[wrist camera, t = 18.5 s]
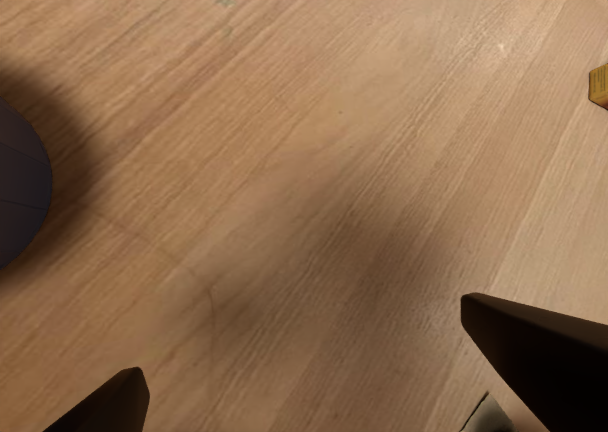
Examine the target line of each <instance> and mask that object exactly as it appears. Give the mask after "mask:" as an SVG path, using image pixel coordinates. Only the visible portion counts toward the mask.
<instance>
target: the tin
mask: <svg viewBox="0 0 608 432" xmlns="http://www.w3.org/2000/svg"><path fill="white" fill-rule="evenodd" d="M51 193H52V173H51V166H50V161H49V158H48V155H47V152H46V149H45V147H44V145H43V144H42V142H41V140H40V138H39V136H38V135H37V133H36V132H35V130H34V128H33V127H32V125H30V124H29V123H28V122H27V120H26V119H25V118H24V117H23V116H22V115H21V114H20V113H19V112H18V111H16V110H15V109H14V108H13V107H12V106H10V105H9V104H8V103H7V102H6V101H5V100H4V99H3V98H2V97H1V96H0V270H1V269H2V268H4V267H5V266H6V265H8V264H9V263H10V262H11V261H12V260H13V259H15V258H16V257H17V256H18V255H19V254H20V253H21V252H22V251H23V250H24V249H25V248H26V246H27V245H28V244H29V243H30V242H31V240H32V239H33V237H34V236H35V235H36V233H37V232H38V230H39V228H40V226H41V224H42V222H43V221H44V219H45V216H46V213H47V210H48V207H49V204H50V199H51Z"/></svg>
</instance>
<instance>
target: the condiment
mask: <svg viewBox="0 0 608 432" xmlns="http://www.w3.org/2000/svg"><path fill="white" fill-rule="evenodd" d="M460 432H519V431H518V430H517V429H516V427H515V426H514V424H513V423H512V421H511V420H510V419H509V417H508V416H507V415H506V414H505V412H504V411H503V410H502V409H501V407H500V406H499V404H498V403H497V401H496V400H495V399H494V398H493V396H492V395H491V394H490V393H489V394H488V396H487V397H486V399H485V400H484V401H482V403H481V404H480V406H479V407H478V409H477V410H476V412H475V413H474V415H473V416H472V417H471V418H470V420H469V421H468V423H467V424H466V426H465V428H464V429H463V430H462V431H460Z"/></svg>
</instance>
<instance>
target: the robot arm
mask: <svg viewBox="0 0 608 432" xmlns="http://www.w3.org/2000/svg"><path fill="white" fill-rule="evenodd" d="M461 323H462V326H463V327H464V329H465V331H466V332H467V333H468V335H469V336H470V337H471V338H472V340H473V341H474V342H475V344H476V345H477V346H478V348H479V349H480V350H481V352H482V353H483V354H484V356H485V357H486V358H487V360H488V361H489V362H490V364H491V365H492V366H493V368H494V369H495V370H496V371H497V373H498V374H499V375H500V376H501V378H502V379H503V380H504V381H505V382H506V383H507V385H508V386H509V387H510V388H511V389H512V390H513V391H514V392H515V393H516V395H517V396H518V397H519V398H520V399H521V400H522V401H523V402H524V404H525V405H526V406H527V407H528V408H529V409H530V410H531V411H532V412H533V414H534V415H535V416H536V417H537V418H538V419H539V420H540V421H541V422H542V424H543V425H544V426H545V427H546V428H547V429H548V430H549V431H550V432H608V325H605V324H601V323H597V322H593V321H589V320H585V319H581V318H577V317H573V316H569V315H565V314H561V313H557V312H553V311H549V310H545V309H541V308H537V307H533V306H529V305H525V304H521V303H517V302H513V301H509V300H505V299H501V298H497V297H493V296H489V295H485V294H481V293H477V292H475V293H470V294H465V295H463V296H462V297H461ZM149 400H150V394H149V390H148V387H147V384H146V381H145V378H144V375H143V372H142V370H141V368H139V367H133V368H128V369H124V370H121V371H120V372H118V373H117V374H116V375H114V376H113V377H112V378H111V379H109V380H108V381H107V382H105V383H104V384H103V385H102V386H100V387H99V388H98V389H97V390H95V391H94V392H93V393H91V394H90V395H89V396H88V397H86V398H85V399H84V400H82V401H81V402H80V403H79V404H77V405H76V406H75V407H73V408H72V409H71V410H70V411H68V412H67V413H66V414H64V415H63V416H62V417H61V418H59V419H58V420H57V421H55V422H54V423H53V424H52V425H50V426H49V427H48V428H46V429H45V430H44V431H43V432H142V430H143V426H144V421H145V417H146V413H147V409H148V405H149Z"/></svg>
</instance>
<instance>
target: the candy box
mask: <svg viewBox="0 0 608 432" xmlns="http://www.w3.org/2000/svg"><path fill="white" fill-rule="evenodd" d="M589 99H590V100H592V101H593V102H595V103H597V104H599V105H600V106H603V107H605V108H606V109H608V63H607V64H605V65H603V66H601V67H599V68H596V69H594V70H592V71H591V72H590V86H589Z"/></svg>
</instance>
